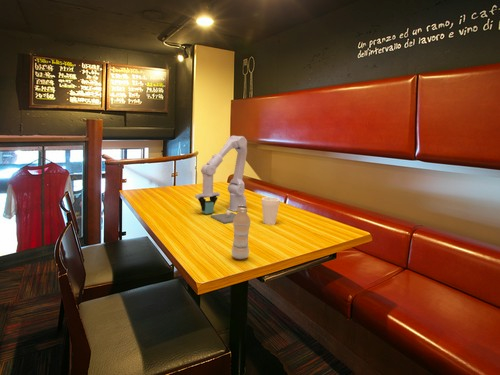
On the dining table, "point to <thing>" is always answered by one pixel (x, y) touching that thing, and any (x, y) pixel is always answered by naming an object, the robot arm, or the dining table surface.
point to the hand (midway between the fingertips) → (207, 209)
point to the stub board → (224, 217)
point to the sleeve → (208, 207)
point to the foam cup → (270, 209)
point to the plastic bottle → (241, 233)
